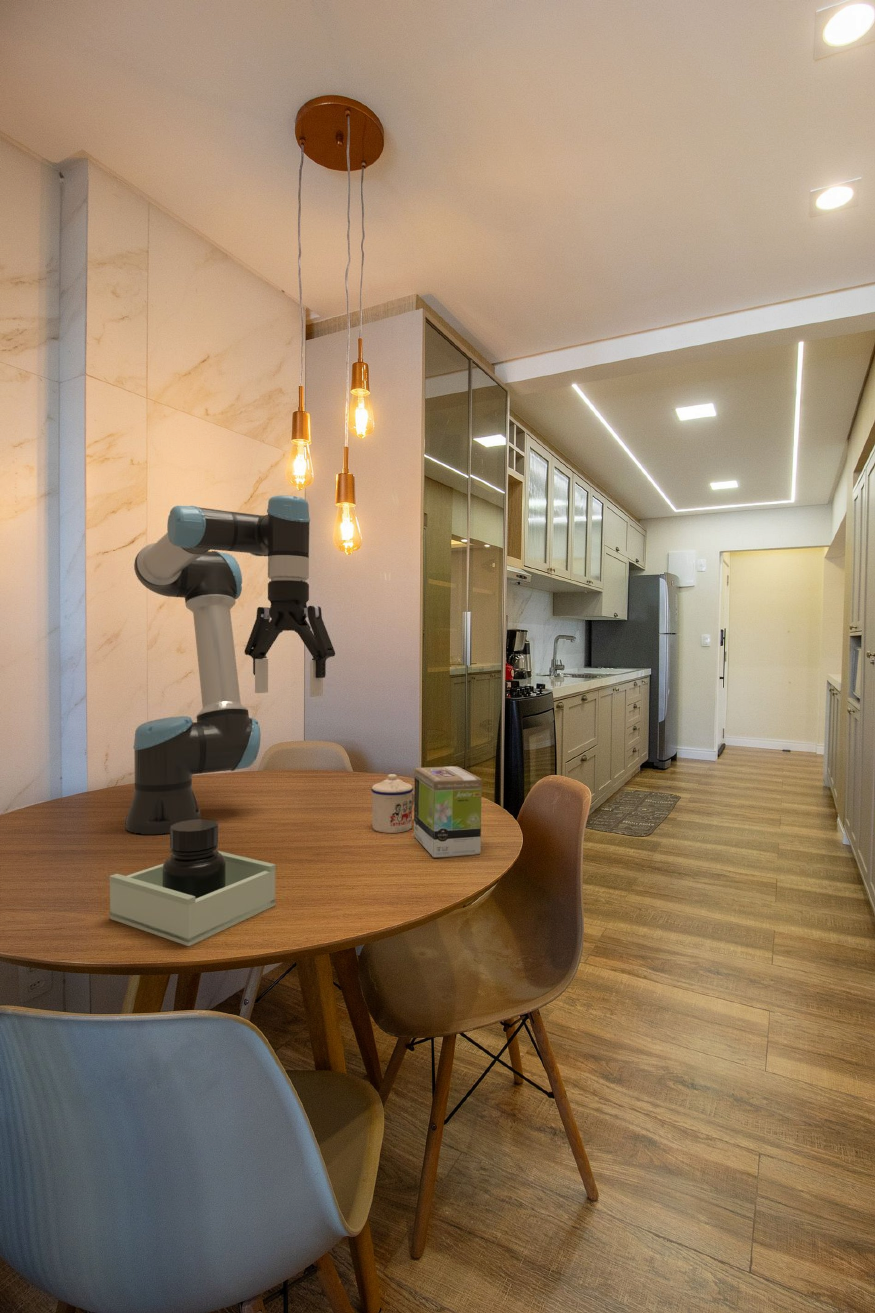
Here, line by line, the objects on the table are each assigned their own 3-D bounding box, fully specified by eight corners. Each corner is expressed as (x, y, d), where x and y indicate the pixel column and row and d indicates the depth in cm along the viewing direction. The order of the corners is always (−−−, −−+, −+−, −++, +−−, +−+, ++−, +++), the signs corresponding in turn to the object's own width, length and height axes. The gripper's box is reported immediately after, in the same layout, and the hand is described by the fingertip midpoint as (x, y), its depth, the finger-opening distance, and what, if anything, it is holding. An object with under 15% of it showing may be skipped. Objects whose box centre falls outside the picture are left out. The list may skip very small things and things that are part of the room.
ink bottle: (219, 889, 105) (219, 814, 105) (235, 907, 98) (235, 827, 98) (154, 902, 100) (153, 823, 100) (166, 922, 93) (166, 837, 92)
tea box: (482, 855, 126) (483, 777, 126) (432, 859, 123) (432, 780, 123) (458, 833, 141) (458, 764, 140) (412, 836, 138) (412, 766, 138)
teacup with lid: (394, 836, 138) (394, 780, 138) (362, 829, 143) (362, 775, 143) (429, 824, 147) (429, 772, 147) (398, 817, 153) (398, 767, 153)
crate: (109, 919, 96) (109, 876, 96) (200, 884, 110) (200, 846, 110) (188, 946, 87) (188, 899, 87) (275, 905, 101) (275, 864, 101)
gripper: (354, 579, 120) (353, 696, 121) (254, 584, 133) (254, 690, 133) (328, 576, 114) (327, 699, 114) (225, 581, 126) (225, 692, 127)
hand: (288, 694), depth 124 cm, fingers open, 13 cm apart
